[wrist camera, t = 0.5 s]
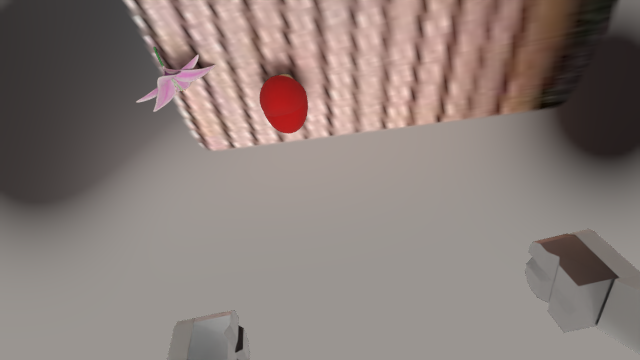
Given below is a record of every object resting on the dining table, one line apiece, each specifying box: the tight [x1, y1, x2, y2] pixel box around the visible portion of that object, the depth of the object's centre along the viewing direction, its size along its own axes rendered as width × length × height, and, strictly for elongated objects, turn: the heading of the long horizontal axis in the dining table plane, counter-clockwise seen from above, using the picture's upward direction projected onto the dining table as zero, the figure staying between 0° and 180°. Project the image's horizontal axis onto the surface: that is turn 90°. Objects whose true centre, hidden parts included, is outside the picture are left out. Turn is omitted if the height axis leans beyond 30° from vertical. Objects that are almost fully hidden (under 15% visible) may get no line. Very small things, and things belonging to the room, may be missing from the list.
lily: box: [136, 47, 215, 112], centre depth 57 cm, size 12×12×10 cm
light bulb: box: [260, 74, 308, 133], centre depth 59 cm, size 9×7×10 cm
